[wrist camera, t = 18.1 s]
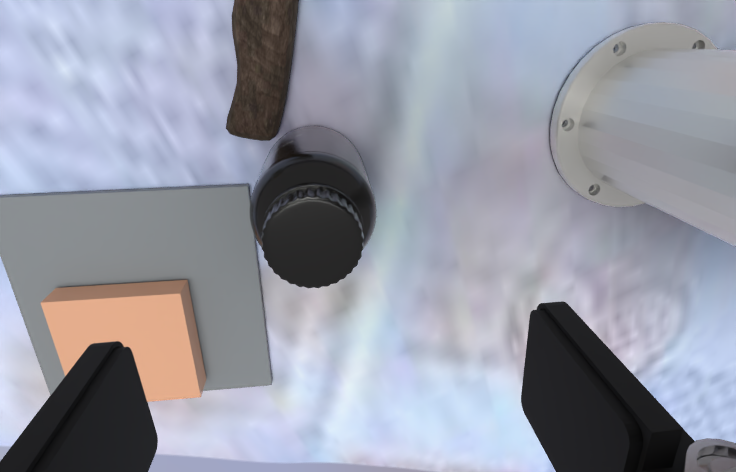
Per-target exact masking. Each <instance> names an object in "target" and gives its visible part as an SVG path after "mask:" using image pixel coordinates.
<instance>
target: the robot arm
mask: <svg viewBox="0 0 736 472" xmlns="http://www.w3.org/2000/svg"><path fill="white" fill-rule="evenodd" d="M614 46H615V49H614ZM613 49H614V51H613ZM564 120H565V123H564V125H563V126H562V124H563V121H564ZM550 145H551V150H552V155H553V160H554V162H555V164H556V167H557V169H558V171H559V173H560V175H561V176H562V178H563V179H564V180H565V182H566V183H567V184H568V185H569V186H570V187H571V188H572V189H573V190H575V191H576V192H577V193H578V194H580V195H581V196H583V197H585V198H586V199H588V200H590V201H593V202H596V203H598V204H601V205H604V206H611V207H633V206H637V205H641V204H645V203H647V204H649V205H651V206H653V207H655V208H657V209H659V210H661V211H663V212H665V213H667V214H669V215H671V216H673V217H675V218H677V219H679V220H681V221H683V222H685V223H687V224H689V225H691V226H694V227H696V228H698V229H700V230H702V231H704V232H706V233H708V234H710V235H712V236H714V237H716V238H718V239H720V240H722V241H724V242H726V243H728V244H730V245H732V246H734V247H736V50H718V48H717V47H716V46H715V45H714V44H713V43H712V41H711V40H710V39H709V38H708V37H706V36H705V35H703V34H702V33H700V32H699V31H698V30H696V29H694V28H691V27H688V26H685V25H682V24H676V23H666V22H660V23H646V24H642V25H637V26H633V27H629V28H627V29H625V30H622V31H620V32H618V33H616V34H613V35H611V36H610V37H608V38H607V39H605V40H604V41H602V42H601V43H599V44H598V45H597V46H595V47H594V48H593V49H592V50H591V51H590V52H589V53H588V54H587V55H586V56H585V57H584V58H583V59H581V61H580V62H579V63H578V65H577V66H576V67H575V68H574V70H573V71H572V72H571V74H570V75H569V77H568V78H567V80H566V82H565V84H564V86H563V87H562V89H561V91H560V93H559V96H558V99H557V102H556V104H555V107H554V110H553V116H552V121H551V127H550ZM521 402H522V408H523V411H524V413H525V415H526V417H527V419H528V421H529V423H530V424H531V426H532V428H533V430H534V432H535V434H536V436H537V437H538V439H539V441H540V443H541V445H542V447H543V448H544V450H545V452H546V454H547V456H548V458H549V460H550V461H551V463H552V465H553V467H554V469H555V471H556V472H736V443H733V442H729V441H725V440H721V439H708V438H707V439H702V440H697V441H694V440H693V439H692V438H691V437H690V436H689V435H688V434H687V433H686V432H685V430H684V429H683V428H682V427H681V426H680V425H679V424H678V423H677V422H676V420H675V419H674V418H673V417H672V416H671V415H670V414H669V413H668V412H667V411H666V410H665V409H664V407H663V406H662V405H661V404H660V403H659V402H658V401H657V400H656V399H655V398H654V397H653V396H652V395H651V393H650V392H649V391H648V390H647V389H646V388H645V387H644V386H643V385H642V384H641V383H640V382H639V381H638V379H637V378H636V377H635V376H634V375H633V374H632V373H631V372H630V371H629V370H628V369H627V368H626V367H625V365H624V364H623V363H622V362H621V361H620V360H619V359H618V358H617V357H616V356H615V355H614V354H613V353H612V351H611V350H610V349H609V348H608V347H607V346H606V345H605V344H604V343H603V342H602V341H601V340H600V339H599V337H598V336H597V335H596V334H595V333H594V332H593V331H592V330H591V329H590V328H589V327H588V326H587V325H586V323H585V322H584V321H583V320H582V319H581V318H580V317H579V316H578V315H577V314H576V313H575V312H574V311H573V309H572V308H571V307H570V306H569V305H568V304H567V303H565V302H552V303H541V304H539V305H538V307H537V310H533V311H532V312H531V314H530V321H529V330H528V339H527V349H526V358H525V367H524V376H523V385H522V395H521ZM157 442H158V440H157V433H156V430H155V426H154V423H153V420H152V416H151V413H150V410H149V406H148V403H147V400H146V396H145V393H144V390H143V386H142V383H141V379H140V376H139V373H138V369H137V366H136V363H135V359H134V356H133V353H132V350H131V349H130V348H129V347H124V346H123V344H122V343H121V342H119V341H114V342H103V343H93V344H90V345H89V346H88V347H87V349H86V350H85V351H84V353H83V354H82V355H81V357H80V358H79V359H78V360H77V362H76V363H75V364H74V366H73V367H72V368H71V370H70V371H69V372H68V374H67V375H66V376H65V377H64V379H63V380H62V381H61V383H60V384H59V385H58V387H57V388H56V389H55V391H54V392H53V393H52V395H51V396H50V397H49V398H48V400H47V401H46V402H45V404H44V405H43V406H42V408H41V409H40V410H39V412H38V413H37V414H36V415H35V417H34V418H33V419H32V421H31V422H30V423H29V425H28V426H27V427H26V429H25V430H24V431H23V432H22V434H21V435H20V436H19V438H18V439H17V440H16V442H15V443H14V444H13V446H12V447H11V448H10V450H9V451H8V452H7V453H6V455H5V456H4V457H3V459H2V460H1V461H0V472H148V470H149V468H150V465H151V462H152V460H153V458H154V455H155V453H156V450H157Z"/></svg>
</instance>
